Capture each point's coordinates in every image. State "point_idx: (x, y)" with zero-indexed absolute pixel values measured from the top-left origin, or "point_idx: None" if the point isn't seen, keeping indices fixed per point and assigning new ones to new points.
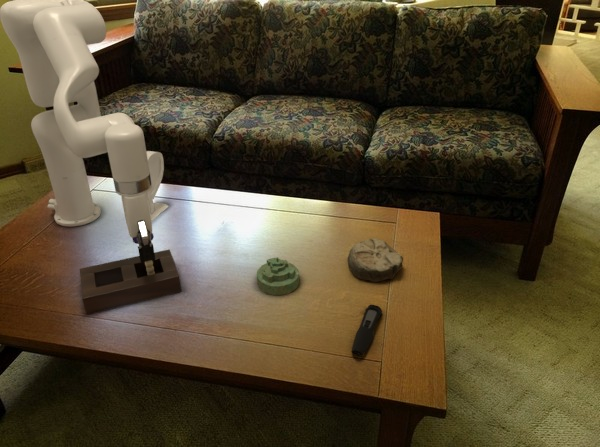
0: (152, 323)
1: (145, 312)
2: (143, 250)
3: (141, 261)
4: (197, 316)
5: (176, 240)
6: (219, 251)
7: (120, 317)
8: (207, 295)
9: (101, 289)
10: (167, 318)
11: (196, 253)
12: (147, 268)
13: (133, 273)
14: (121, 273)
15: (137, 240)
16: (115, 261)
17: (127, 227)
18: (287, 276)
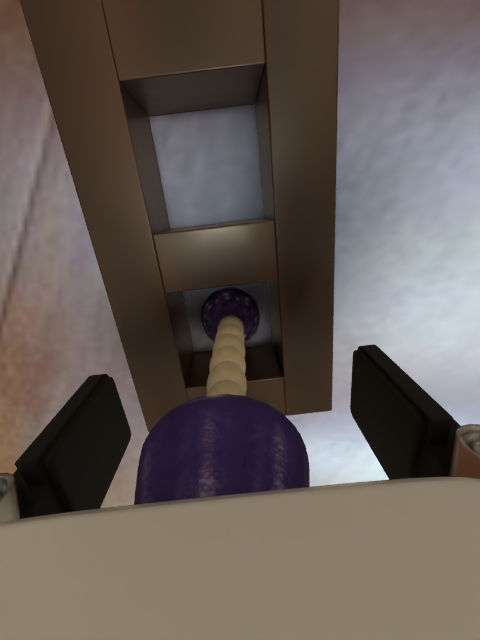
0: (18, 306)
1: (74, 288)
2: (17, 475)
3: (92, 379)
4: (46, 417)
5: (437, 391)
6: (322, 482)
7: (53, 203)
8: (133, 444)
9: (96, 116)
10: (40, 348)
11: (338, 435)
12: (219, 335)
13: (203, 278)
14: (268, 216)
15: (142, 458)
16: (330, 193)
17: (121, 583)
18: None
